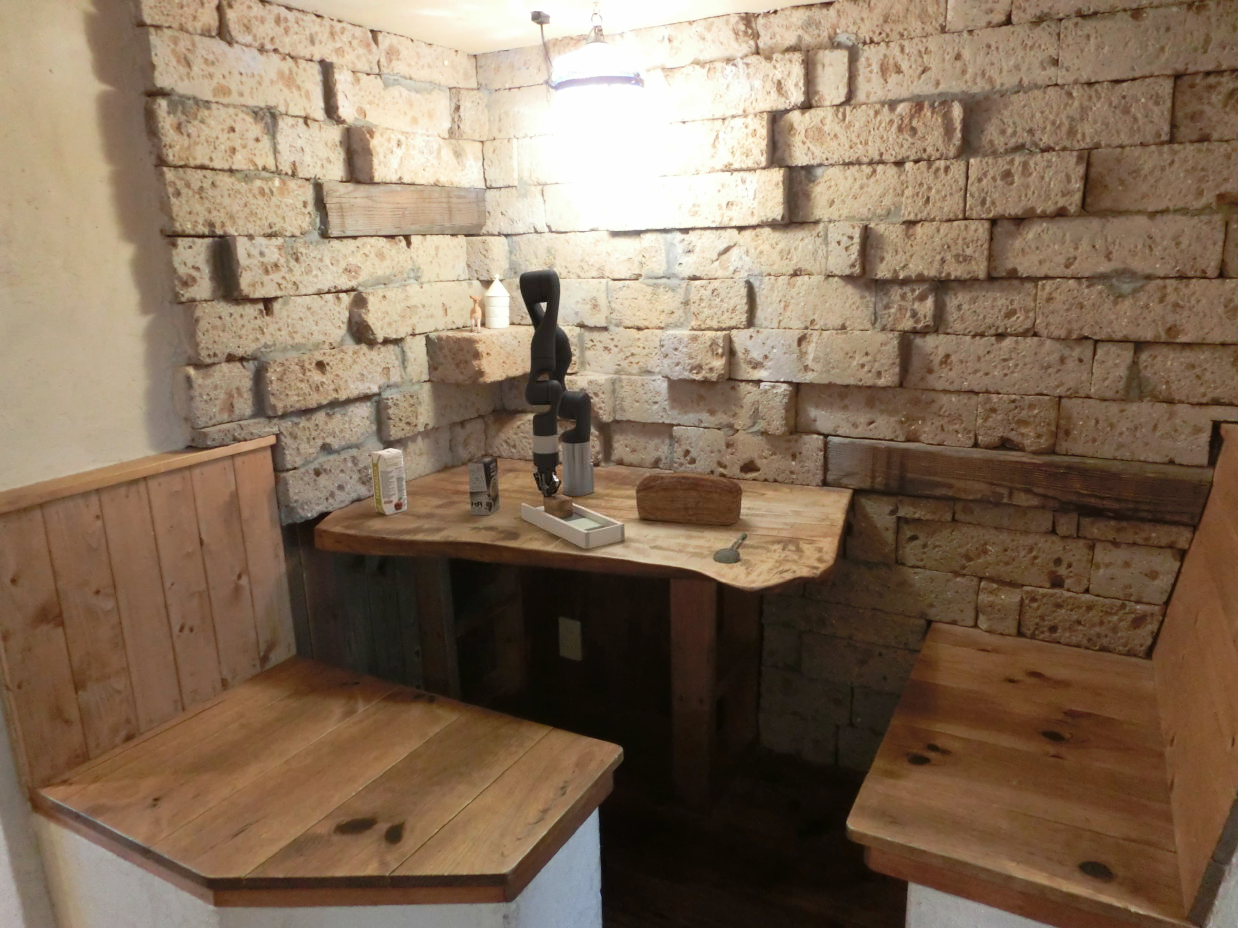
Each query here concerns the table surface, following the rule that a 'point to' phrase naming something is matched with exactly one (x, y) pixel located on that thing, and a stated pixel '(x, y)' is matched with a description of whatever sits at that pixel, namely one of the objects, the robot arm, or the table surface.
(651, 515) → the bread
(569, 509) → the walnut block
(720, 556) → the soupspoon
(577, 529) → the track
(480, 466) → the coffee box
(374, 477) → the juice carton
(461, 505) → the table surface
